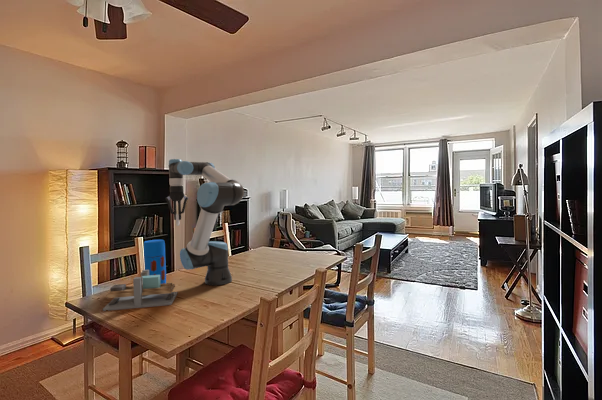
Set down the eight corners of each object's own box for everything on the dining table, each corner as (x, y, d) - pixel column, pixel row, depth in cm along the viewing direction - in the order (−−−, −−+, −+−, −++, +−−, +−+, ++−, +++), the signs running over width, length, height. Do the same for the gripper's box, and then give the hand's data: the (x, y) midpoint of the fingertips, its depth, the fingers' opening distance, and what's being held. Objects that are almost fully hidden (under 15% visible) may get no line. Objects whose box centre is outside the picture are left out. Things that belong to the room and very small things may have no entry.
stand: (177, 293, 166) (176, 267, 166) (171, 304, 150) (170, 276, 150) (116, 298, 160) (114, 271, 160) (102, 310, 144) (101, 281, 144)
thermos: (170, 283, 185) (168, 239, 184) (156, 288, 175) (154, 243, 174) (155, 281, 188) (153, 239, 187) (140, 287, 178) (139, 242, 177)
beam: (175, 286, 164) (174, 269, 163) (170, 293, 152) (170, 275, 152) (115, 290, 158) (114, 273, 158) (105, 298, 146) (104, 280, 146)
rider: (160, 286, 159) (160, 274, 158) (158, 289, 155) (158, 277, 154) (143, 288, 157) (142, 275, 157) (140, 290, 153) (140, 278, 153)
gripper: (188, 185, 195) (190, 224, 196) (166, 185, 192) (167, 225, 193) (187, 185, 187) (188, 225, 188) (163, 185, 185) (164, 226, 186)
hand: (177, 225), depth 191 cm, fingers closed
